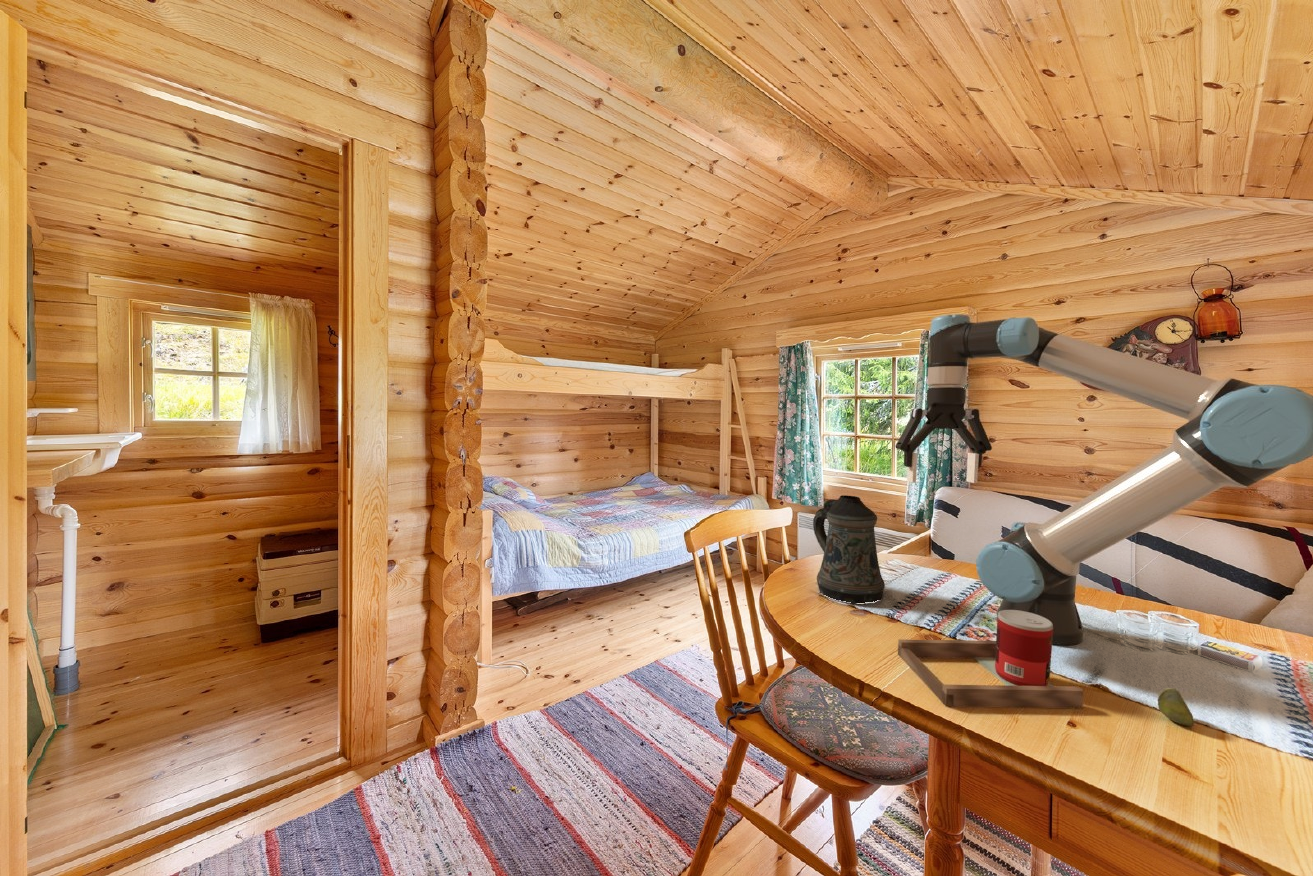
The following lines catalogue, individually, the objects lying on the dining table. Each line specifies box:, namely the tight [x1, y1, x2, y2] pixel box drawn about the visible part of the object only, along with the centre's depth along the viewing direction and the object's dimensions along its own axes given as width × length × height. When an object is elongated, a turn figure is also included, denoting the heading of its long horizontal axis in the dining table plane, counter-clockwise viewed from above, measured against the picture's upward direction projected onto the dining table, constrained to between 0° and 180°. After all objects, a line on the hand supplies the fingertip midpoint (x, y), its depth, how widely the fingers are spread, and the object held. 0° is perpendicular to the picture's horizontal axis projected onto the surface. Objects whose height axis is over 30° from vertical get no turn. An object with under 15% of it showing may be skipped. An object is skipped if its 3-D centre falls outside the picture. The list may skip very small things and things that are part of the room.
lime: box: [1157, 688, 1195, 727], centre depth 79 cm, size 4×5×5 cm
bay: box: [897, 638, 1085, 710], centre depth 90 cm, size 22×17×3 cm
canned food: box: [995, 610, 1053, 686], centre depth 90 cm, size 8×8×11 cm
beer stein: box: [812, 494, 886, 603], centre depth 131 cm, size 16×19×25 cm
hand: (941, 482), depth 113 cm, fingers open, 13 cm apart
